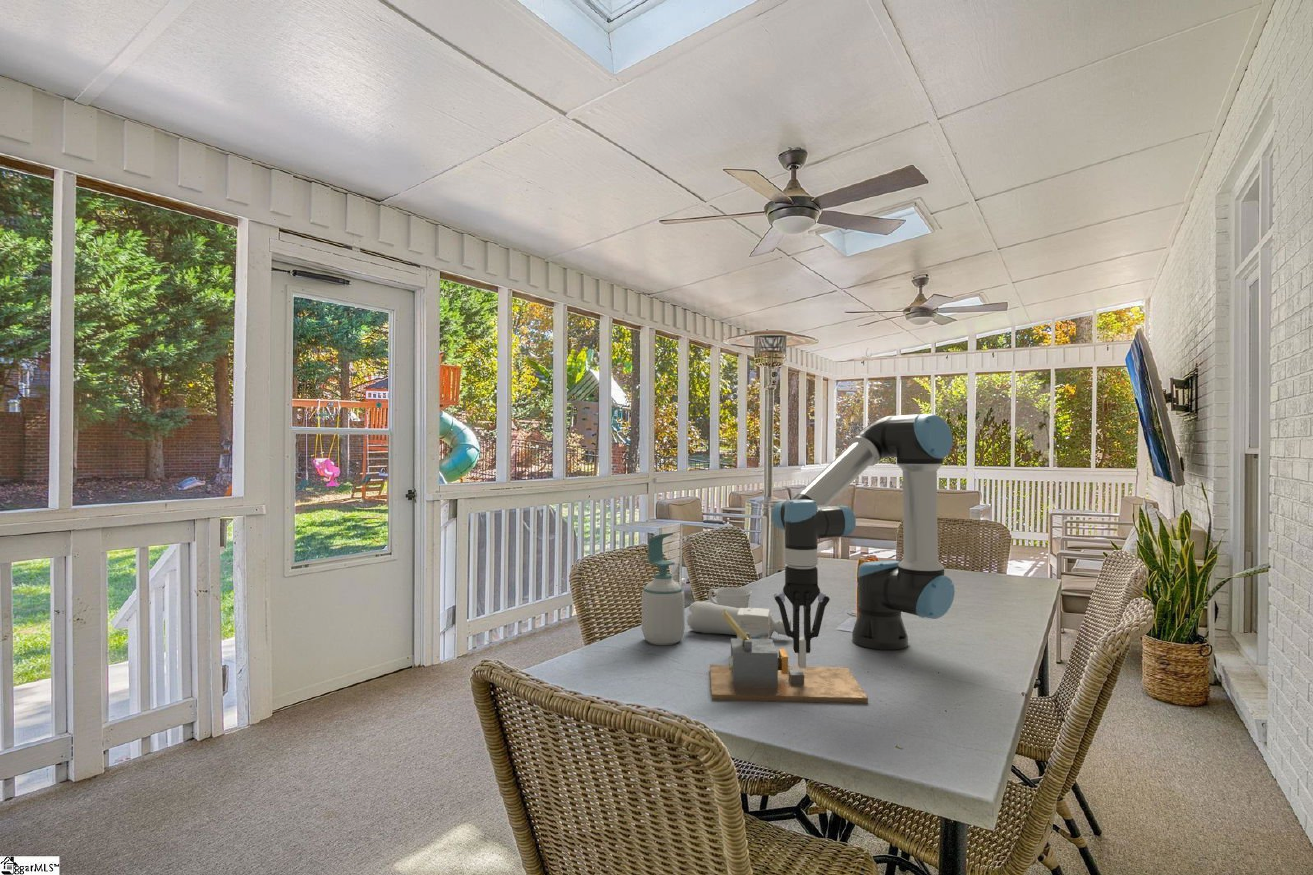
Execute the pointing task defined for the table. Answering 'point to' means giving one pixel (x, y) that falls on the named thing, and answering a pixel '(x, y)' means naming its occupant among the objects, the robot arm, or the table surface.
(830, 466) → the robot arm
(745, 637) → the tab
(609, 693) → the table surface
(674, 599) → the soap bottle
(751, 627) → the ink box
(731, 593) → the teacup
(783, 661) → the lynch pin
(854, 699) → the block
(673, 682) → the table surface
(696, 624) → the bottle
